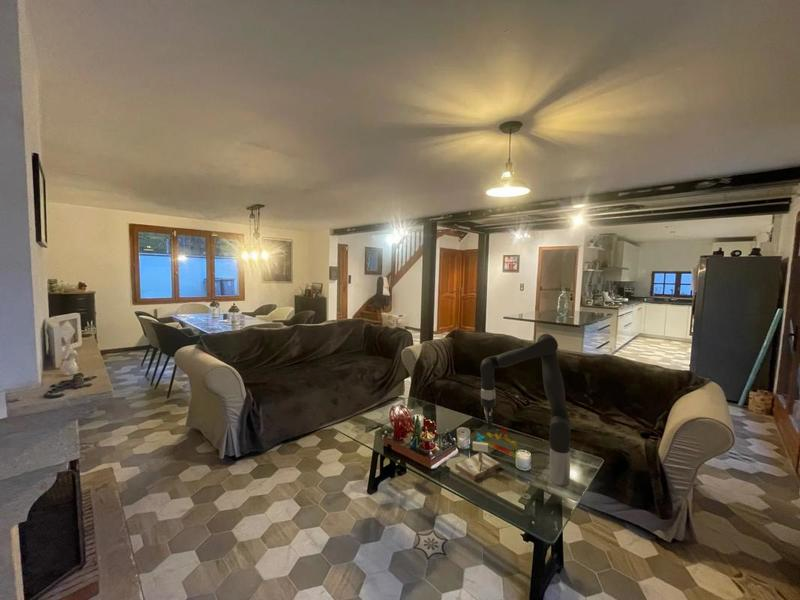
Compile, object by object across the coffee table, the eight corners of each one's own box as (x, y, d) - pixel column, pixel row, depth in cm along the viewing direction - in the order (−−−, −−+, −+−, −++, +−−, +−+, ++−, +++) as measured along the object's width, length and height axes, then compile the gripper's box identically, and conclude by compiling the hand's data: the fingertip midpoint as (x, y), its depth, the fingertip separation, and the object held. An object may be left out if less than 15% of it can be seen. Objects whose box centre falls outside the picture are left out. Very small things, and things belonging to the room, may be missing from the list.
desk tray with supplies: (480, 455, 202) (480, 451, 202) (501, 467, 190) (501, 463, 190) (455, 468, 191) (455, 463, 191) (474, 481, 179) (474, 476, 179)
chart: (475, 441, 218) (475, 418, 217) (478, 439, 220) (478, 417, 219) (520, 461, 196) (521, 436, 194) (523, 459, 198) (524, 434, 196)
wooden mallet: (473, 458, 194) (473, 441, 193) (487, 461, 192) (487, 443, 190) (471, 469, 184) (471, 450, 183) (486, 472, 182) (486, 453, 181)
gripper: (479, 391, 192) (479, 419, 194) (482, 401, 178) (483, 431, 180) (493, 391, 192) (493, 419, 193) (497, 401, 178) (497, 432, 179)
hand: (488, 425), depth 187 cm, fingers open, 8 cm apart
